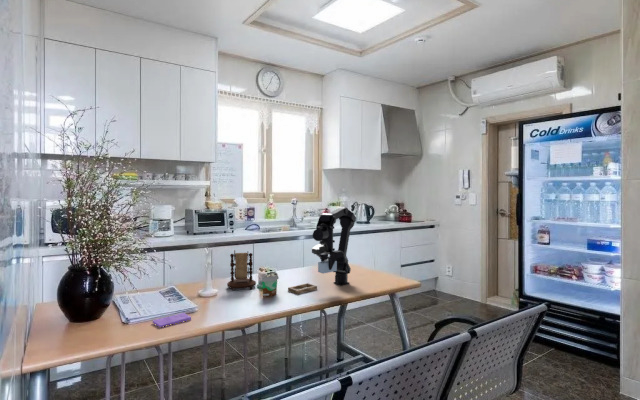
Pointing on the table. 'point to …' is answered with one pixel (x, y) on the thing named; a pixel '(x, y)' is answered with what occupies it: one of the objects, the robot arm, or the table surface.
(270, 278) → the food container
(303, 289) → the tan picture frame
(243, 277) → the scroll
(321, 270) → the key block
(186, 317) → the purple flat block
